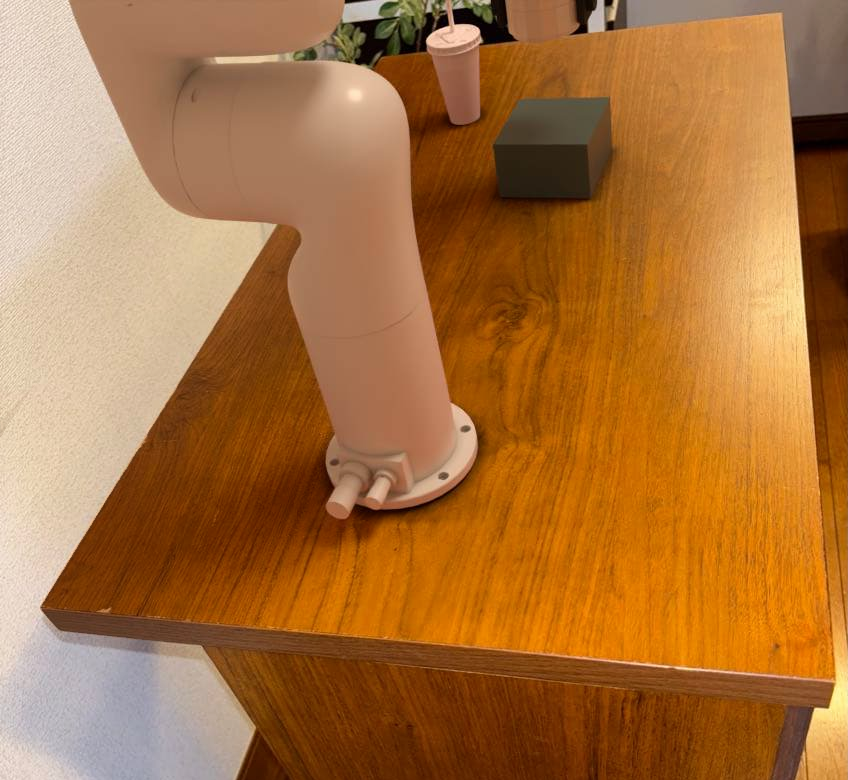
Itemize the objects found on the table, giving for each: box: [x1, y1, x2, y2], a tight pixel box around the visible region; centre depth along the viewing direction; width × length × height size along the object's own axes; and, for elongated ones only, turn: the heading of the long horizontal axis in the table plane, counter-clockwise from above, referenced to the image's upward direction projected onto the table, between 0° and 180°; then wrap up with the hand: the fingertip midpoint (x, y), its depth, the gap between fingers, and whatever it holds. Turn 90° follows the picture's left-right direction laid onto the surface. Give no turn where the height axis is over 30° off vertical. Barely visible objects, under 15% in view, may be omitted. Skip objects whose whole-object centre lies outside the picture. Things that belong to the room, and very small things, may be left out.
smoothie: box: [425, 0, 482, 126], centre depth 115 cm, size 6×6×14 cm
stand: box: [492, 96, 613, 200], centre depth 105 cm, size 10×10×6 cm
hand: (545, 19), depth 95 cm, fingers closed on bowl, 7 cm apart
